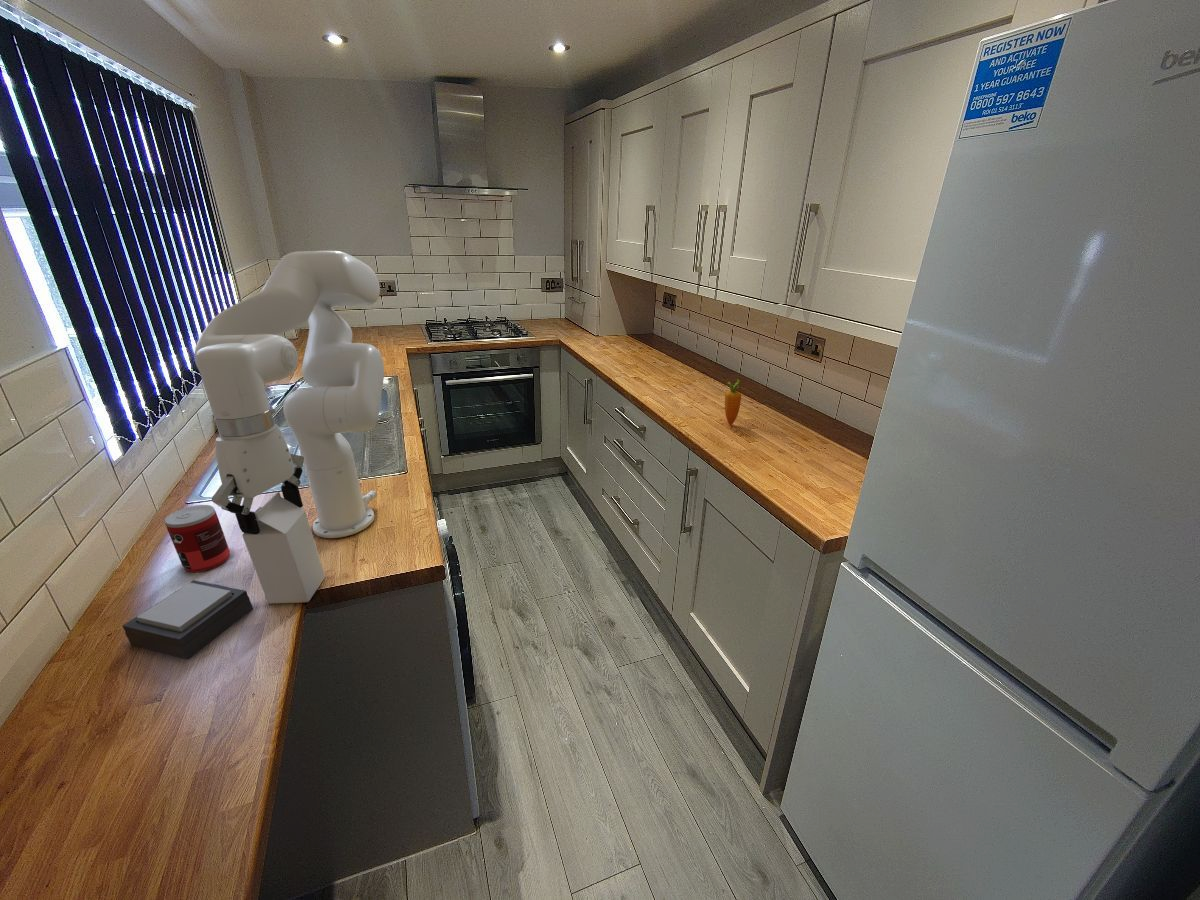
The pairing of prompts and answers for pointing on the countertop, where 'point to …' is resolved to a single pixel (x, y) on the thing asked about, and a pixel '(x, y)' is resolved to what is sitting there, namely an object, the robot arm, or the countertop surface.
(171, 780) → the countertop surface
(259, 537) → the milk carton
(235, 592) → the scale
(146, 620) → the scale pan
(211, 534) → the canned food
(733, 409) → the carrot
